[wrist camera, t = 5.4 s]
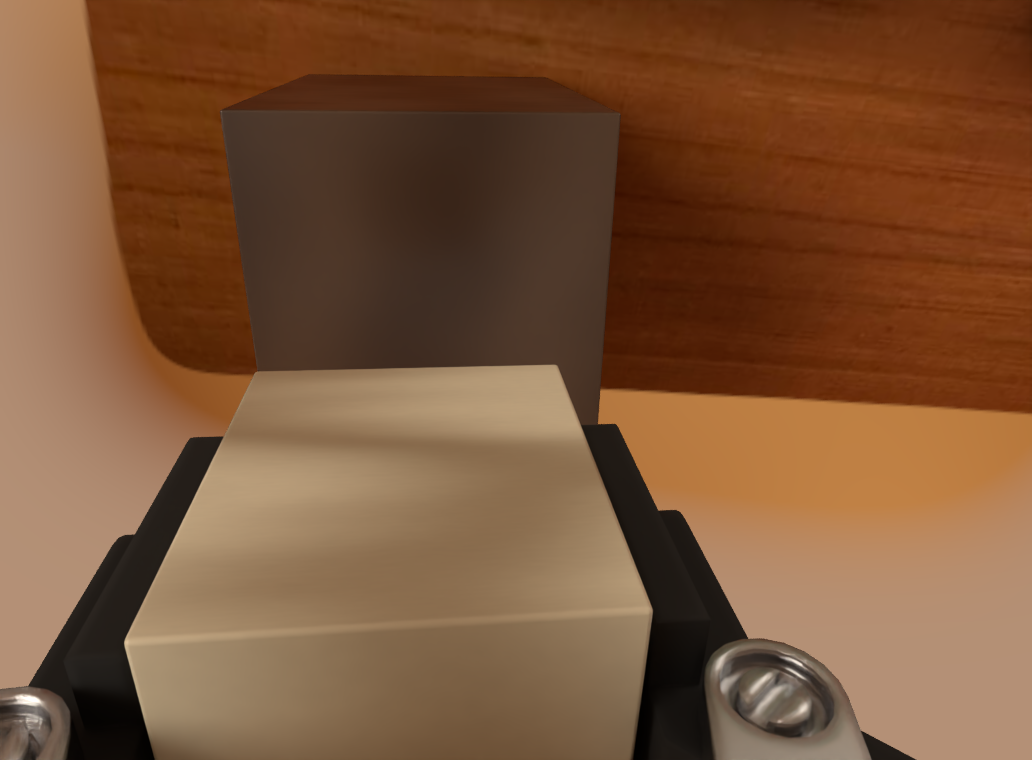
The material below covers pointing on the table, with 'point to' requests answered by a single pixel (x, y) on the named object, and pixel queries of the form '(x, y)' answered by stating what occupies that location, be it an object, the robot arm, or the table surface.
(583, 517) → the block
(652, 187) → the table surface
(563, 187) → the stand
